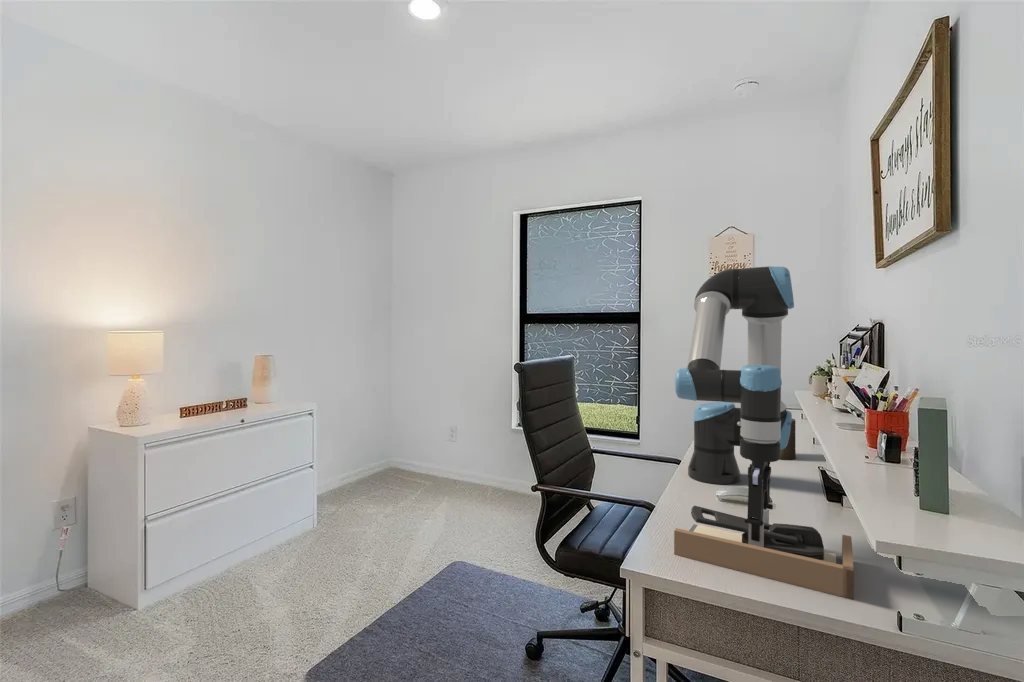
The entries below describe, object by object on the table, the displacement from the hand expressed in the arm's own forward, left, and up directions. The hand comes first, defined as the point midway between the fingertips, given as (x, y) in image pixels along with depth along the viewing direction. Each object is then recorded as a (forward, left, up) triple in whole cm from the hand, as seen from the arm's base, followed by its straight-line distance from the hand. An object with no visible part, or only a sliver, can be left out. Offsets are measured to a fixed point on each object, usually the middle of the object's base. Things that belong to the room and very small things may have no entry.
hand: (758, 546), depth 102 cm
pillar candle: (-86, -3, -1) cm, 86 cm away
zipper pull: (+1, -1, 0) cm, 1 cm away
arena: (+2, 0, -1) cm, 3 cm away
